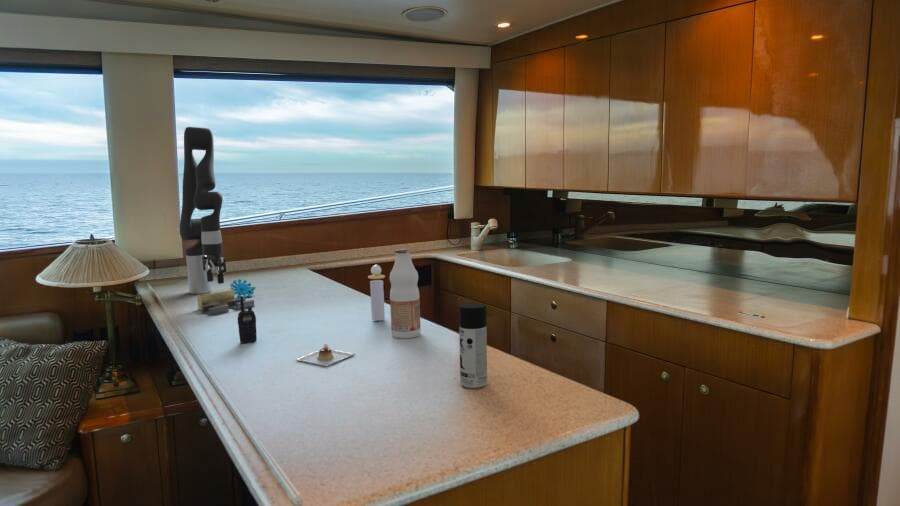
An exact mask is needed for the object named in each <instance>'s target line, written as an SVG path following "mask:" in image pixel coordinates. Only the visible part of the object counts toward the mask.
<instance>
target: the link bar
mask: <svg viewBox="0 0 900 506" xmlns="http://www.w3.org/2000/svg"><path fill="white" fill-rule="evenodd" d="M196 300H197V309H198V310H199V309H200V311H201V306H205V305H210V304H215V303H220V306H224V305H228V302H227V301H230V300H235V295H234V290H233V289H231V288H228V289H221V290H218V291H217V290H216V291H212V292H211V291H210V292H207V293H201V294H196Z"/></svg>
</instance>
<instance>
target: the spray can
mask: <svg viewBox="0 0 900 506" xmlns="http://www.w3.org/2000/svg"><path fill="white" fill-rule="evenodd" d="M458 311H459V312H458V313H459V315H458V316H459V317H458V318H459V319H458V320H459V323H458V326H459V329H458V330H459V377H460V378H459V381H460V385H461V387H463V388H465V389H469V390H470V389H471V390H477V389H482V388H484V387H485V386H487V384H488V357H487V356H488V347H487V346H488V344H487V343H488V341H487V340H488V337H487V336H488V334H487V327H488V325H487V305H486V304H484V303H479V302H467V303H462V304H460V305H459V309H458Z"/></svg>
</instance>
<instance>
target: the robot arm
mask: <svg viewBox="0 0 900 506" xmlns="http://www.w3.org/2000/svg"><path fill="white" fill-rule="evenodd" d="M214 144H215V143H214V134H213V131H212V129H211V128H207V127H198V126H197V127H196V126H187V127H185V129H184V132H183V157H184V158H183V160H184V161H183V175H182V198H181V199H182V205H181V212H180V220H179V221H180V222H179V234H180V238H181V239H182V240H183V241H193V240H197V242H195V243H194V244H193V245H191V246H188V247H187V248H186V249H185V259H186V270H187V282H188V292H189V294H191V295H192V294H193V295H200V294H205V293H210V292H211V291H212V284H211V282H214V272H213V270H214V271H215V272H216V274H217V275H216V277H217V279H216V280H217V283H218V284H219V285H221V284H224V283H225V278H224V277H225V276H224V274H225V273H227V263H226V257H221V254H223V253H224V249H223V248H224V247H223V238H222V237H223V236H222V233H221V222H220V217H221V212H222V211H221V210H222V205H223V200H224V199H223V196H222V194H221V192H219V191H214V189H215V188H216V178H215V170H214V169H215V168H214V158H215V157H214V152H215V151H214V150H215V148H214V146H215V145H214ZM194 150H196V151H205V153H204V156H203V157H202V158H201V160H200V162H199V163H197V161H196V159H195V156H194V154H193V151H194ZM195 209H197V210H199V211H207V210H213V212H212V213H211V214H208V215H204V216H202V217H201V218H200V217H199V218H192V216H193V214H194V211H195Z"/></svg>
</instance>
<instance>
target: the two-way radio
mask: <svg viewBox="0 0 900 506" xmlns="http://www.w3.org/2000/svg"><path fill="white" fill-rule="evenodd" d="M243 296H244V295H243ZM243 296H242V295H241V297H240V298H239V299H240V304H241V309H240V311H239V312H238V314H237V327H238V334H239V335H238V336H239V342H240V343H241V344H245V343H246V344H247V343H253V342H254V343H255V342H256V341H257V317H256V314H255V312H254V310H253V307H248V308H247V309H246V310H245V309H244V303H243Z"/></svg>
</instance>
